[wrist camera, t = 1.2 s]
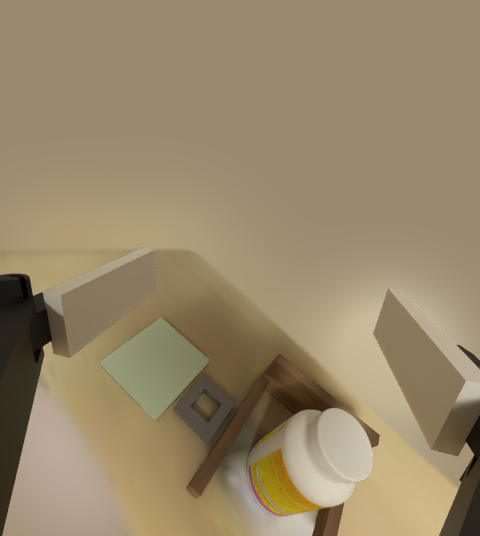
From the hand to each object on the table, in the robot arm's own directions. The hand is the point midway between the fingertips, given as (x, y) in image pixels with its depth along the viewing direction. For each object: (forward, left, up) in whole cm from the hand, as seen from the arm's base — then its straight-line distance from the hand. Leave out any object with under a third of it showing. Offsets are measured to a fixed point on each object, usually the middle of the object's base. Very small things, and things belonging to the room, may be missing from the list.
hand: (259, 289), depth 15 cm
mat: (-6, +2, -22) cm, 23 cm away
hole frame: (+1, +2, -22) cm, 22 cm away
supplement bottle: (+11, +2, -22) cm, 25 cm away
